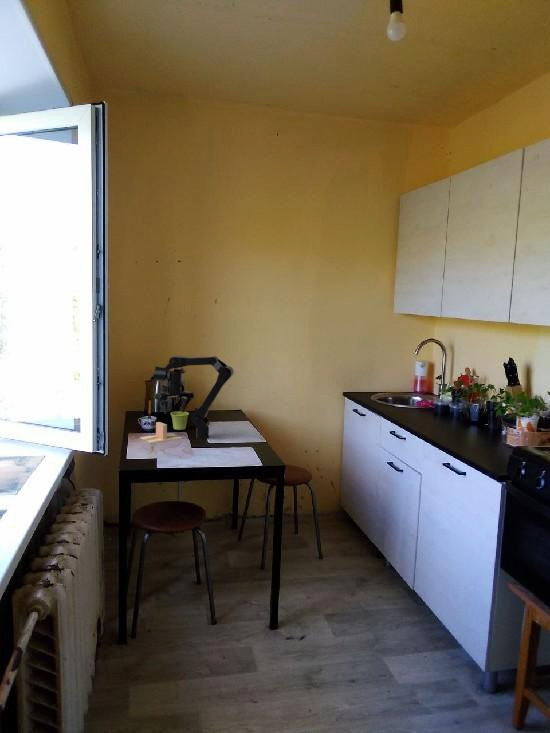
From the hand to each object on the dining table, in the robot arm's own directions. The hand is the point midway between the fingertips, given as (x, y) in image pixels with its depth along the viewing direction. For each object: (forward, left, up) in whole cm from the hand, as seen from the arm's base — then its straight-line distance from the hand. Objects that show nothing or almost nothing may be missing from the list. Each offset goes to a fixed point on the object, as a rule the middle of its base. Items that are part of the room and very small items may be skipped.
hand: (174, 413), depth 267 cm
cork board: (0, +7, -12) cm, 14 cm away
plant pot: (+12, -10, -12) cm, 20 cm away
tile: (0, +7, -11) cm, 13 cm away
